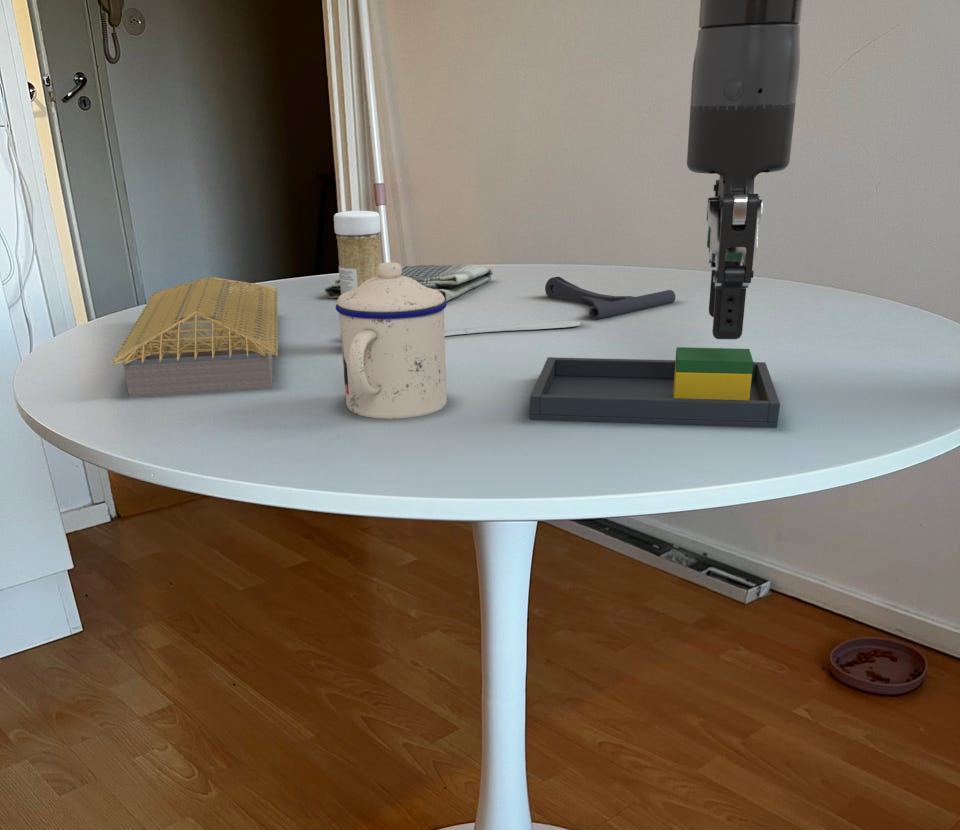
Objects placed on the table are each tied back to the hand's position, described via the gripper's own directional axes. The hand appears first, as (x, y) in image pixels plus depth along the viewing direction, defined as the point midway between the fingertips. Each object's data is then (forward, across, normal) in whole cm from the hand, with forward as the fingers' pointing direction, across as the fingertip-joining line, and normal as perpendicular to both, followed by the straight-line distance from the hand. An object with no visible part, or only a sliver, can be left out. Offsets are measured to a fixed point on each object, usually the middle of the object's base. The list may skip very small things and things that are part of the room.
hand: (724, 326), depth 81 cm
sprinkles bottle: (+6, +18, +35) cm, 40 cm away
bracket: (+7, +45, +14) cm, 48 cm away
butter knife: (+6, +26, +26) cm, 38 cm away
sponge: (+6, 0, +1) cm, 6 cm away
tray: (+7, +1, +5) cm, 9 cm away
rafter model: (+6, +15, +51) cm, 54 cm away
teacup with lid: (+6, -4, +27) cm, 28 cm away
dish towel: (+7, +53, +38) cm, 66 cm away
